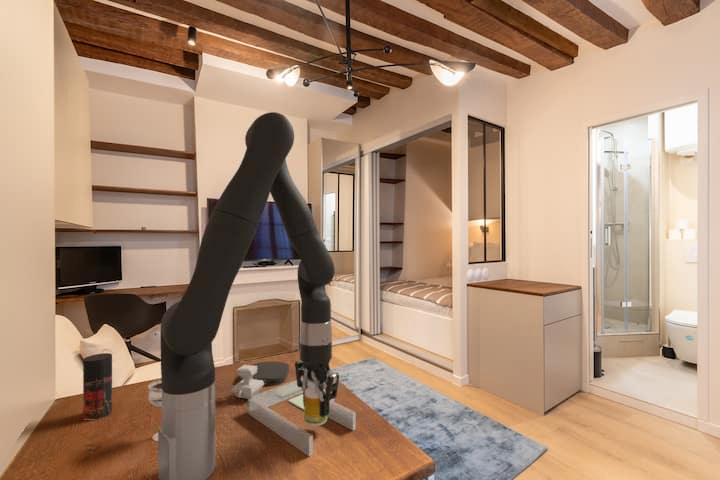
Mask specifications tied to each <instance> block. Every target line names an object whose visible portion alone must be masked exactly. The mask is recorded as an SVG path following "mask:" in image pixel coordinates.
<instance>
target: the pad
mask: <svg viewBox="0 0 720 480" xmlns="http://www.w3.org/2000/svg"><path fill="white" fill-rule="evenodd" d="M287 400H288V403H290V404H292V405H293V406H296V407H298V408H299V409H300V410H303V411H304V409H305V407H304V403H303V393H301V394H298V396H297V395H296V396H294V397H291V398H289V399H287Z"/></svg>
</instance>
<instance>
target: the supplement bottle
mask: <svg viewBox="0 0 720 480" xmlns="http://www.w3.org/2000/svg"><path fill="white" fill-rule="evenodd" d="M324 384H325V382H324V383H322V384H320V386H323V385H324ZM307 385H308V387H307V388H306V390H305V396H304V397H305V406H304V407H305V409H304V410H303V411H304V422H305V424H306V425H308V426H310V427H319V426H321V425H324V424H325V423H326V422H327V421H328V417H327V416H325V417H321V416H320V397H319V393H318V391H316V388H315V384H314V381H312V380H310V379H308V381H307ZM323 393H324V394H326V392H325V389H323Z"/></svg>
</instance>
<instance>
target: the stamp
mask: <svg viewBox="0 0 720 480" xmlns="http://www.w3.org/2000/svg"><path fill="white" fill-rule="evenodd" d="M236 372H237V374H238V376H239V378H240V377H243V378H244V379H243V380H242V381H240V380H239V382H237V383H236V384H234V385H233V386H232V387H231V393H232V394H233V395H234V396H236V398H241V399H246V400H247V398H248V397H251V396H254V395H256V394H259V393H260V392H261V390H262V389H263V387H264V386H265V385H264V382H263V381H262V380H257V379H252V377H253V375H254V374H256V373H257V366H253V365H252V364H243V365H242V366H240V367H239V368H238V369H236ZM263 385H264V386H263Z"/></svg>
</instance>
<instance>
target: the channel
mask: <svg viewBox="0 0 720 480" xmlns="http://www.w3.org/2000/svg"><path fill="white" fill-rule="evenodd" d="M302 380H303V377H301V381H302ZM331 393H332V392H331ZM302 394H303V392H302V388H301V387H298V386H297V379H295V380H292V381H289V382H287V383H284V384H281V385H279V386H275V387H273V388H271V389H268V390H265V391H262V392H259V393H258V394H256V395H254V396H251V397H248V398H247V399H246V400H247V401H246V402H247V403H246V404H247V410H246V411H247V414H248V415H250V416H251V417H252V418H254V419H255V420H256V421H258V422H259V423H261V424H262V425H264V426H265V427H266V428H268V429H269V430H271V431H272V432H274V434H276V435H278V437H281V438H282V439H283V440H285V441H286V442H287V443H289V444H291V445H292V446H294V447H295V448H296V449H298V450H299V451H300V452H302V454H303V453H304V454H305V456H308V457H311V456H313V454H314V436H313V434H311V433H310V432H308V431H306V430H305V429H303V428H302V427H301V426H299V425H297V424H295V423H294V422H292V421H290V419H288V418H286V417H284V416H283V415H281V414H279V413H278V412H276V411H275V410H273V409H271V408H270V407H271V406H273V405H276V404H279V403H281V402H283V401H286V400H289V399H292V398H294V397H297V395H298V396H299V395H302ZM329 409H330V411H329V414H328V415H327V419H330V420H332V421H334V422H335V423H338V424H340V425H341V426H343V427H345V428H347V429H349V430H351V431H355V430H356V428H357V427H356V426H357V420H356V419H357V414H356V413H357V412H356V411H353V410H352V409H350V408H348V407H346V406H343V405H342V404H340V403H337V402H335V398H334V399H331V400H330V401H329Z"/></svg>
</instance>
